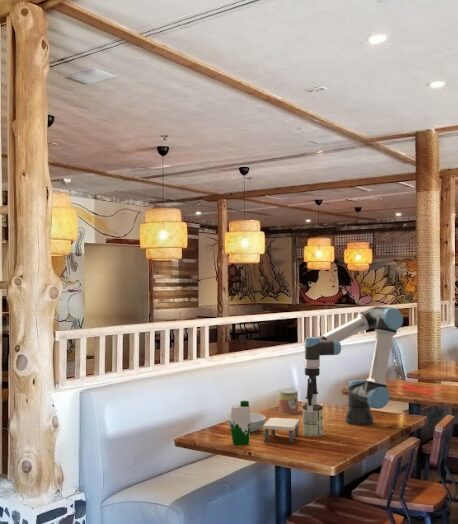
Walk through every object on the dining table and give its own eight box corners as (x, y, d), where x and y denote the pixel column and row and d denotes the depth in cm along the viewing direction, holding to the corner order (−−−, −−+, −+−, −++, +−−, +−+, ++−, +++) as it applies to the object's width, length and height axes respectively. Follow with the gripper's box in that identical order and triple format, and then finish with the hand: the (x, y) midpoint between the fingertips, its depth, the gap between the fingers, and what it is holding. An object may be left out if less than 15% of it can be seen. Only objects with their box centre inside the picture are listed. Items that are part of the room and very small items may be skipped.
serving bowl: (217, 431, 318) (217, 417, 318) (244, 424, 333) (244, 411, 334) (247, 437, 304) (247, 423, 304) (273, 430, 319) (273, 416, 320)
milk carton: (250, 445, 289) (250, 403, 289) (231, 446, 288) (231, 403, 289) (248, 440, 297) (248, 399, 298) (230, 441, 297) (230, 400, 297)
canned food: (286, 414, 357) (285, 393, 358) (275, 410, 367) (275, 390, 368) (301, 412, 363) (301, 391, 363) (290, 408, 373) (290, 389, 373)
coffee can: (302, 431, 316) (302, 404, 316) (322, 431, 315) (322, 404, 315) (302, 436, 305) (302, 408, 306) (323, 436, 304) (323, 408, 305)
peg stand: (299, 435, 308) (299, 419, 308) (293, 444, 291) (293, 427, 291) (270, 433, 312) (270, 417, 312) (263, 442, 295) (262, 425, 295)
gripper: (308, 364, 324) (308, 404, 323) (300, 370, 300) (300, 413, 299) (322, 364, 322) (322, 405, 321) (316, 371, 298) (316, 414, 297)
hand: (312, 409), depth 310 cm, fingers open, 13 cm apart
